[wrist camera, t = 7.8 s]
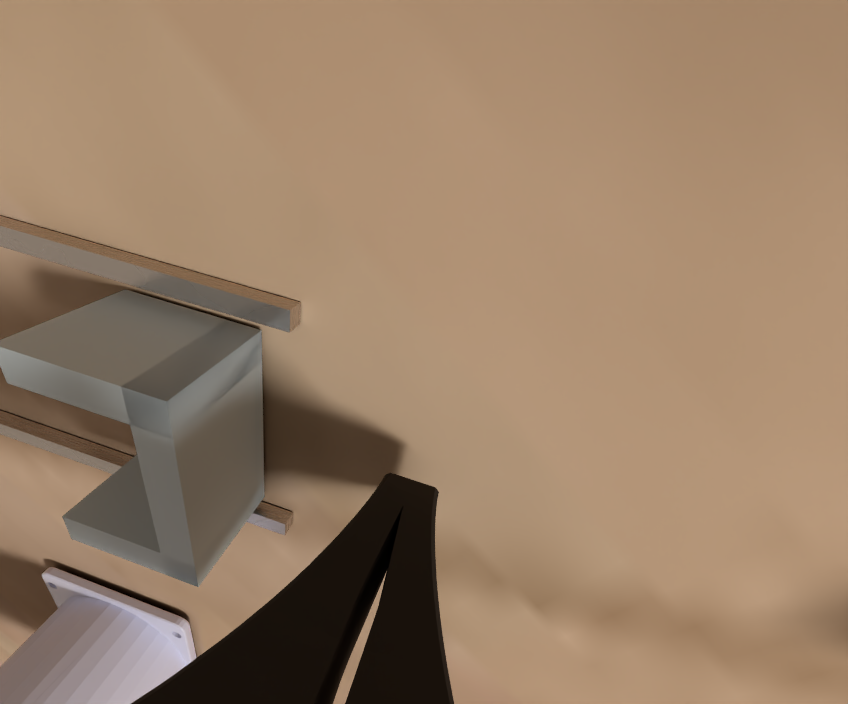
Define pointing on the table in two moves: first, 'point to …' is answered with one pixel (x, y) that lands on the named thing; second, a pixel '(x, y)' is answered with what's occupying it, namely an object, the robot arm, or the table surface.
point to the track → (157, 280)
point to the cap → (157, 423)
